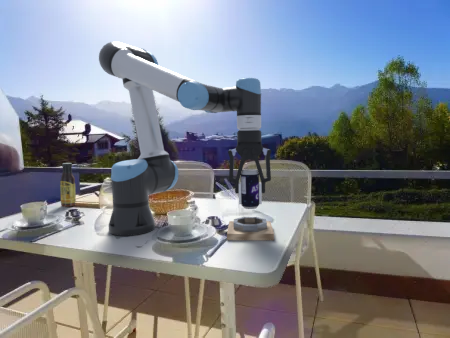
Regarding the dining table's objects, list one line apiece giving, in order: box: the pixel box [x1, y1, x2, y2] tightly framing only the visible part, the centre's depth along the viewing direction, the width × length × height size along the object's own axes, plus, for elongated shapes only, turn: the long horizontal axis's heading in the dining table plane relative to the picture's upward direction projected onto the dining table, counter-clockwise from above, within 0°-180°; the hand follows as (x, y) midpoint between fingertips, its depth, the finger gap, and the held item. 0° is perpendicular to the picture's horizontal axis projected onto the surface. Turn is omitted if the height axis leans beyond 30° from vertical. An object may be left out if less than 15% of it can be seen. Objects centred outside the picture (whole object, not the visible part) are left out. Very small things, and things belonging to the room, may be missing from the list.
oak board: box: [226, 220, 275, 241], centre depth 104 cm, size 14×14×2 cm
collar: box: [233, 216, 267, 232], centre depth 104 cm, size 10×10×2 cm
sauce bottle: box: [59, 162, 77, 208], centre depth 149 cm, size 7×6×20 cm
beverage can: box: [240, 168, 260, 210], centre depth 102 cm, size 6×6×12 cm
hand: (250, 203), depth 103 cm, fingers closed on beverage can, 6 cm apart
